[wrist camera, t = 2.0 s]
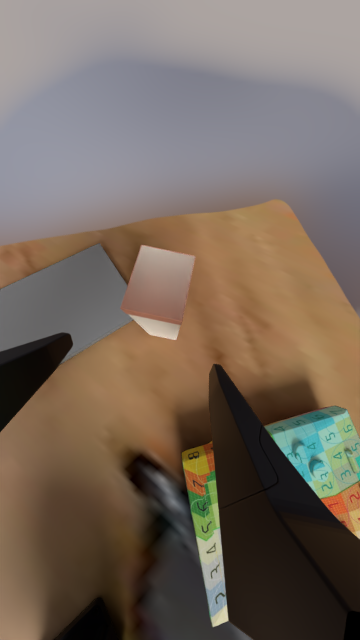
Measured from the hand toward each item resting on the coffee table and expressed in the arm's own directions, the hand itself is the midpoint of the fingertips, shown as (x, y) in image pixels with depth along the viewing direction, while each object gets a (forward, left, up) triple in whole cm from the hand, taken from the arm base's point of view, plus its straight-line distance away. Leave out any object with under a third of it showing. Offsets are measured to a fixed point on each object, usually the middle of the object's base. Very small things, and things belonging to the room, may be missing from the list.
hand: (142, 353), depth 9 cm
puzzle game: (+4, -20, -12) cm, 23 cm away
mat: (-10, +14, -12) cm, 21 cm away
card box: (+4, +4, -12) cm, 13 cm away
